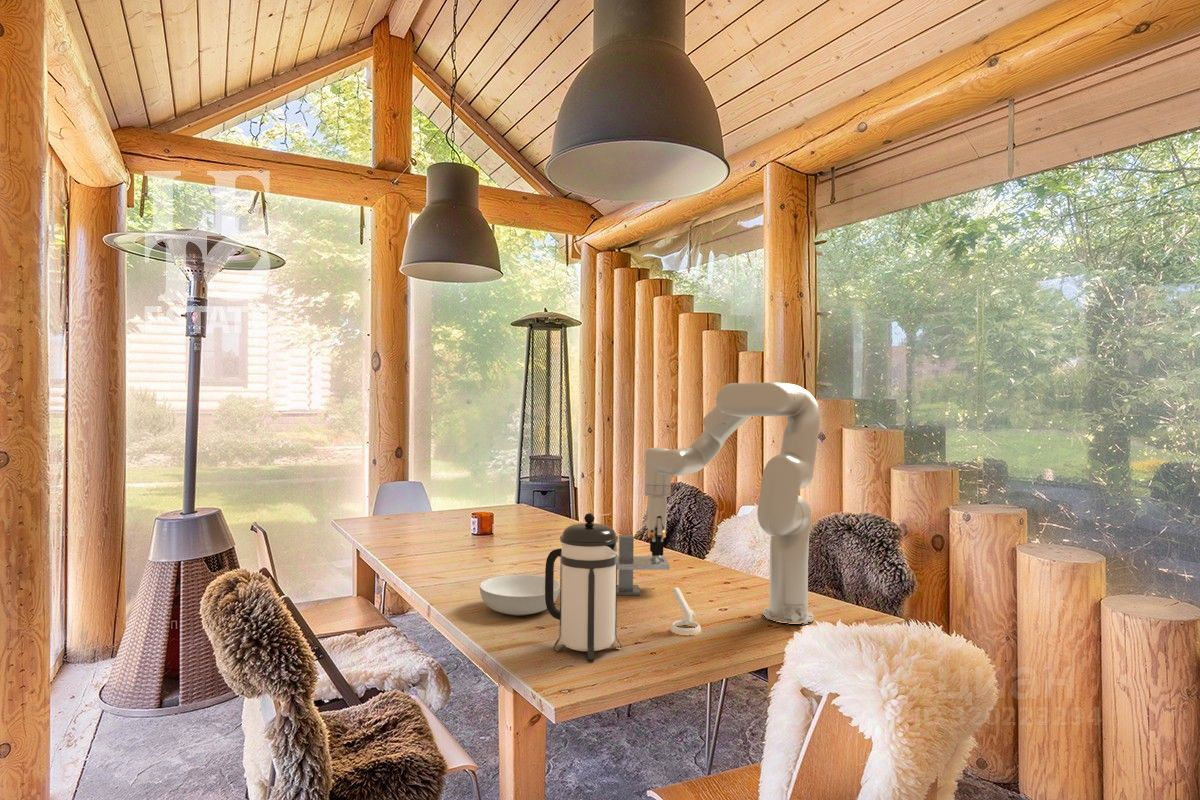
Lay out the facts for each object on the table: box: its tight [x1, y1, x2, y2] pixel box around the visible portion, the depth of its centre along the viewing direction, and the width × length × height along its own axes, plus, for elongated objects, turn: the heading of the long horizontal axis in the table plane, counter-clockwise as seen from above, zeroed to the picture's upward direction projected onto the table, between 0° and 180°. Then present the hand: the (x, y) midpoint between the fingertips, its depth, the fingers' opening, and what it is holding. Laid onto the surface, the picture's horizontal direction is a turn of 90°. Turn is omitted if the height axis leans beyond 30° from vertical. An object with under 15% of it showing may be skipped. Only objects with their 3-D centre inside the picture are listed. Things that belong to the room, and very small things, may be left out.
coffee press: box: [544, 512, 623, 662], centre depth 150 cm, size 17×16×30 cm
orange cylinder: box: [647, 529, 667, 562], centre depth 196 cm, size 5×5×10 cm
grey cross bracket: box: [617, 534, 670, 596], centre depth 196 cm, size 10×16×16 cm, turn 92°
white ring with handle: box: [669, 586, 702, 634], centre depth 164 cm, size 8×12×7 cm
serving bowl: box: [479, 574, 560, 616], centre depth 177 cm, size 21×21×7 cm
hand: (656, 552), depth 196 cm, fingers closed on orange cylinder, 4 cm apart
